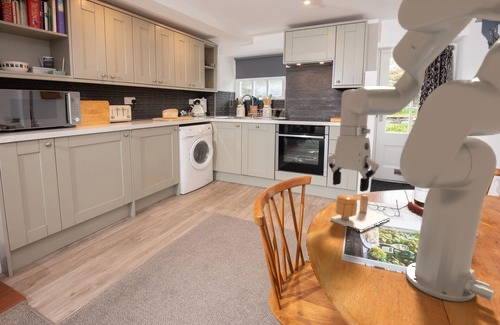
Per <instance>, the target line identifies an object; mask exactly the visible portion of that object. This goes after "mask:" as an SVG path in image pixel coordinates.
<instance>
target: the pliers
mask: <svg viewBox="0 0 500 325" xmlns="http://www.w3.org/2000/svg"><path fill="white" fill-rule="evenodd" d="M407 207H408V209H409V211H411V212H413V213H414V214H417V213H418V214H417V215H419V214H420V215H419V216H421V215H422V216H423V210H424V208H421V207H419V206H417V205H415V204H414V203H413V201H408V202H407ZM422 216H421V217H422Z"/></svg>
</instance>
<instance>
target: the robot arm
mask: <svg viewBox="0 0 500 325" xmlns="http://www.w3.org/2000/svg"><path fill="white" fill-rule="evenodd" d="M473 19H479V20H486V21H487V20H488V21H495V22H500V0H402V1H401V3H400V4H399V8H398V11H397V21H398V24H399V25H400V27H401V28H402V29H403V30H404V31H405V30H406V32H405V34H404V35H402V37H401V39H400V40H399V41H398V42H397V44H396V45H395V46H394V48H393V49H392V59H393V60H394V61H393V62H395V63H396V65H397V66H398V67H399V68H400V69H401V70H402V71H403V74H402V75H401V77H400V78H399V79H398V80H397V81H396V82H395V83H394V84H393V85H392V86H391V87H390V86H362V87H359V88H356V89H354V88H352V89H347V90H344V91H343V92H342V94H341V102H340V103H341V105H340V123H339V124H340V125H339V135H338V136H337V141H336V143H335V144H336V145H335V150H334V154H332V155H330V156H328V157H327V162H328V166H329V169H330V171H331V173H332V185H334V186H337V185H340V184H341V183H342V182H341V181H342V171H341V170H342V169H344V170H348V171H355V172H359V174H360V176H361V178H360V182H359V183H360V184H359V191H360V192H363V193H364V192H366V191H368V190H369V187H370V178H371V177H372V176H374V174H376V171H378V169H379V167H380V164H379V163H377V162H376V161H374V160H373V159H372V156H371V154H372V153H371V152H372V150H371V143H370V138H369V136H367V134H368V135H369V134H371V129H370V128H368V118H369V117H368V116H393V115H396V114H398V113H400V112H401V111H402V110H404V109H405V108H406V107H407V106H408V105H409V104H410V103H412V101H414V100H415V98H416V97H417V96H418V95H419V94H420V91H421V89H422V88H423V84H424V81H425V77H426V70H427V68H428V67H429V66H430V65H431V64H432V63H433V62H434V61H435V60H436V59H437V57H439V56H440V55H441V53H442V52H444V51H445V50H446V48H447V47H448V46H449V45H451V43H452V42H453V41H454V40H455V39H456V38H457V37H458V36H459V35H460V34H461V32H463V30H465V28H466V27H468V26H469V24H470V23H471V22H472V21H473ZM415 118H416V119H415V121H414V123H413V124H412V127H411V130H410V132H409V134H408V136H407V138H406V141H405V142H404V146H403V148H402V150H401V153H400V158H399V169H400V173H401V176H402V178H403V180H404V181H406V183H408V184H409V185H411V186H412V187H415V188H419V189H425V190H426V189H428V191H427V193H426V196H425V200H424V204H423V209H424V210H423V216H421V224H420V231H419V236H418V237H419V238H418V243H417V244H418V245H417V249H416V250H417V251H416V257H415V262H413V263H410V264H409V265H408V266H407V267H406V269H405V276H406V279H407V280H408V282H410V283H411V284H412V285H413V287H415V288H417V289H418V290H420V291H422V292H424V293H425V294H427V295H429V296H431V297H434V298H438V299H441V300H445V301H449V302H467V301H470V300H472V299H473V298H475V297H476V295H478V296H479V297H481V298H482V299H486V300H487V301H490V302H491V301H493V298H494V296H495V291H494V290H493V289H491V284H489V283H487V282H484V281H482V280H479V279H477V277H475V276H474V274H475V272H476V271H475V269H472V268H471V265H472V261H473V256H474V251H475V244H476V240H477V235H478V229H479V225H480V220H481V216H482V210H483V205H484V201H485V199H486V198H485V197H486V195H487V193H488V190H489V187H490V185H491V183H492V181H493V178H494V176H495V173H496V170H497V157H496V156H497V155H496V153H495V151H494V149H493V148H492V146H490V144H488V143H487V142H486V141H484V140H482V139H479V138H476V137H483V136H495V135H499V134H500V37H499V38H498V39H497V40H496V41H495V42H494V43H493V44H492V45H491V46H490V48H489V49H488V51H487V52H486V55H485V56H484V58H483V60H482V63H481V65H480V66H479V68H478V70H477V71H476V73H475V75H474V76H473V78H472V79H455V80H449V81H446V82H444V83H442V84H441V85H439V86H437V87H436V88H435V89H434V90H432V91H431V92H430V93H429V94H428V95H427V97H426V98H425V100H424V101H423V103H422V105H421V107H420V109H419V111H418V113H417V115H416V117H415ZM369 169H370V170H369Z"/></svg>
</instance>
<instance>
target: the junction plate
mask: <svg viewBox="0 0 500 325" xmlns="http://www.w3.org/2000/svg"><path fill="white" fill-rule="evenodd" d="M359 199H360V201H359V207H357V211H356V215H355V216H352V217H348V216H342V215H339V214H336V215H334V216H331V217H330V221H332V222H334V223H335V224H338V225H341V226H344V227H346V226H350V227H353V228H356V229H359V230H363V229H365V228H367V227H369V226H371V225H375V224H377V223H380V222H382V221H385V220H387V219H389V220H390V216H386V215H383V214H381V213H378V212H375V211H371V210H369V209H368V204H369V195H368V194H361V195H360V198H359Z"/></svg>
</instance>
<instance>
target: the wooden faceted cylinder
mask: <svg viewBox="0 0 500 325" xmlns="http://www.w3.org/2000/svg"><path fill="white" fill-rule="evenodd" d="M357 208H358V198H357V197H356V196H353V195H350V194H339V195H337V197H336V203H335V214H336V215H342V216H348V217H352V216H355V215H356V211H357Z"/></svg>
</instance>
